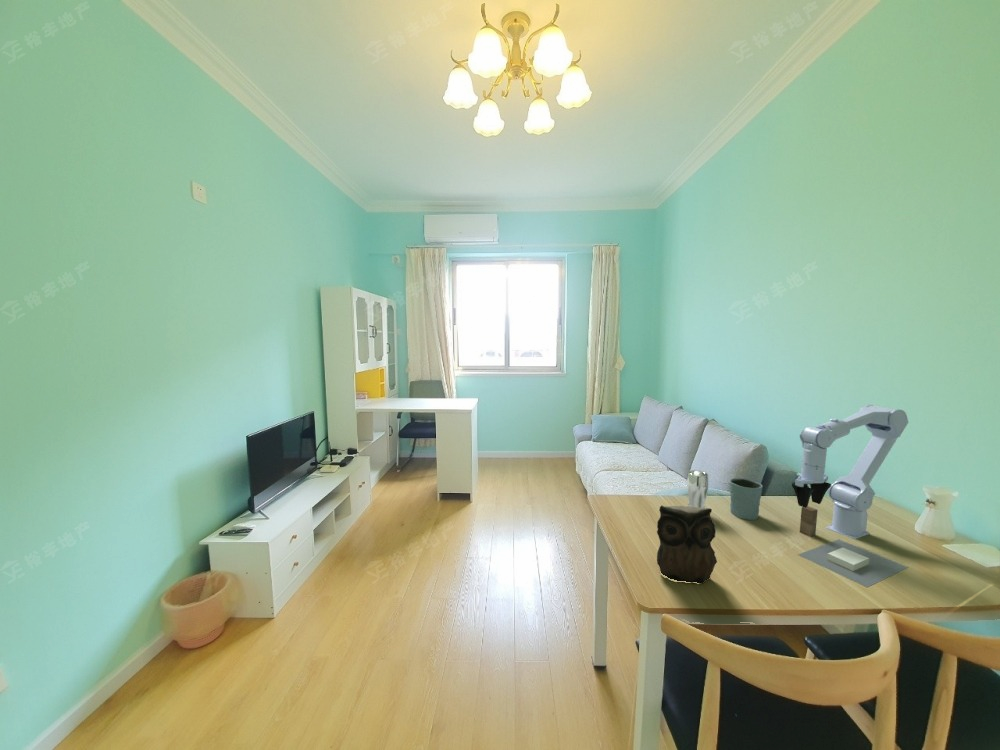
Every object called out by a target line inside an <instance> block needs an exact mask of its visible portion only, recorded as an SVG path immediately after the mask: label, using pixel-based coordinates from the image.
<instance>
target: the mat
mask: <svg viewBox="0 0 1000 750" xmlns="http://www.w3.org/2000/svg"><path fill="white" fill-rule="evenodd" d="M840 548H845V549H848V550H850V551H853V552H855V553H857V554H860V555H862V556H865V557H867V558H869V563H868V565H867V566H865V567H863V568H860V569H858V570H856V571H854V572H853V571H850V570H848V569H846V568H844V567H842V566H839V565H837V564H835V563H833V562H831V561H828V560H827V556H828V553H830V552H833V551H835V550H838V549H840ZM797 556H799V557H801V558H804V559H806V560H808V561H810V562H812V563H814V564H816V565H818V566H821V567H823V568H825V569H826V570H829V571H830V572H831V571H832V572H834V573H835V574H838V575H840V576H842V577H845V578H846V579H848V580H850V581H853V582H855V583H857V584H859V585H861V586H862V587H865V588H869V587H871V586H873V585H875V584H877V583H879V582H881V581H883V580H886V579H888V578H889V577H892V576H893V575H895V574H898V573H901V572H902V571H904V570H905V569H906V570H907V569H908V568H909V566H906V565H904V564H901V563H899V562H896V561H894V560H892V559H890V558H886V557H884V556H881V555H879V554H876V553H874V552H871V551H869V550H867V549H864V548H861V547H859V546H856V545H854V544H852V543H849V542H846V541H844V540H843V539H842V540H841V539H839V538H838V539H837V540H832V541H829V542H828V543H824V544H823V545H820V546H817V547H815V548H812V549H809V550H807V551H806V550H805V551H804V552H801V553H798V554H797Z"/></svg>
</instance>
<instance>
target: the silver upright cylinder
mask: <svg viewBox="0 0 1000 750" xmlns="http://www.w3.org/2000/svg"><path fill="white" fill-rule="evenodd" d="M686 481H687V482H686V487H687V488H686V489H687V495H688V504H687V506H691V507H698V508H706V507H705V506H706V505H705V503H706V499H707V495H708V491H709V485H710V484H709V474H708V473H707V472H705V471H701V470H696V469H694V470H693V469H692V470H689V471H688V474H687V480H686Z"/></svg>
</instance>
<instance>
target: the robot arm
mask: <svg viewBox="0 0 1000 750" xmlns="http://www.w3.org/2000/svg"><path fill="white" fill-rule="evenodd" d="M908 424H909V419H908V415H907V412H906V411H904V410H903V409H899V408H895V409H894V408H891V407H890V408H889V407H883V406H877V405H873V404H867V405H865V406H862V407H860V408H859V411H857V412H855V413H853V414H851V415H850V416H847V417H845V418H844V419H841V418H834V417H833V418H830V420H829V421H827V422H824V423H819V424H818V425H817V426H815V427H814V426H808V427H805V428H803V429H802V430H801V432H800V434H799V438H800V439H799V440H800V441H801V447H802V448H803V449H802V451H803V452H802V462H801V469H800V470H801V472H799V473H796V476H797V478H795V480H794V482H792V483H791V487H792V489H793V491H794V493H795V495H796V500H797V504H798V506H799V507H801V508H802V507H804V508H807V506H809V502H810V499H811V502H812V503H815V504H818V505H820V504H821V503H822V502H823V499H824V497H825V494H826V493H827V494H828V497H829V498H830V499H831V502H832V503H833V511H832V512H833V513H832V522H831V525H827V526H826V527H825V528H826V529H828V530H830V531H832V532H836V534H837V533H838V534H840V535H843V536H846V537H848V538H851V539H852V540H853V539H854V540H856V539H860V538H861V537H865V536H868V535H870V534H871V533H870V532H869V531H867V526H868V518H869V517H868V516H869V515H868V514H869V513H868V511H867V510H869V509H870V508H871V506H872V505H873V500H874V496H875V495H876V493H875V490H874V489H873V488H872V487H871V485H870V484H871V482H872V480H873V479H874V477H875V476H876V474H877V472H878V471H879V470H880V468H881V466H882V464H883V463H884V461H885V459H886V458H887V457H888V454H889V453H890V452H891V450H892V448H893V446H895V443H896V441H897V439H898V438H900V437H901V436H902V434H903V432H904V430H905V429H906V427H907V426H908ZM862 426H865V428H866V429H867V431H869V432H870V433H871V435H872V436H871V438H870V440H869V442H868V443H867V445H866V446H865V448H864V450H863V451H862V452H861V454H860V456H859V457H858V459H857V461H856V463H855V464H854V466H853V467H852V469H851V470H850V472H849V474H848V475H845V476H844V475H843V476H840V477H837V479H836V480H835V482H833V483H832V484H831V483H830V482H828V481H829V475H827V474H825V469H826V460H827V451H828V448H830V447H831V446H833V443H834V442H836V440H838V439H840V438H843V437H845V436H848V435H849V434H850V433H851V430H853V429H857V428H859V427H862ZM808 485H809V486H810V487H809V486H808Z"/></svg>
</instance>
